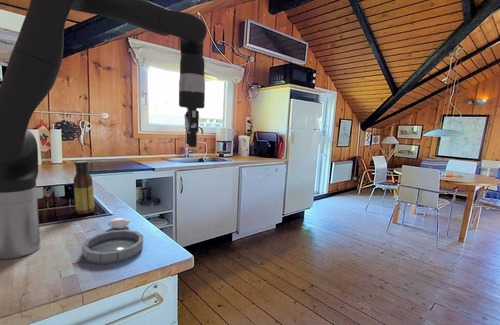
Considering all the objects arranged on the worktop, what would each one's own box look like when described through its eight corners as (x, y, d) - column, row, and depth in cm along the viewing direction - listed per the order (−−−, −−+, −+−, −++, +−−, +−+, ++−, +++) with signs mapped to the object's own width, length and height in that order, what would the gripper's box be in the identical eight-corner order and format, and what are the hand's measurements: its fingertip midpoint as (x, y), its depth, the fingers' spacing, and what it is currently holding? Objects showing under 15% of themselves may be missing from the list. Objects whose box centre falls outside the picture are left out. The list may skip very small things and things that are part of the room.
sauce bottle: (91, 208, 105) (89, 159, 102) (97, 212, 101) (95, 161, 98) (72, 211, 100) (69, 160, 97) (78, 216, 96) (75, 163, 93)
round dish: (75, 267, 63) (75, 256, 63) (91, 241, 77) (91, 232, 76) (140, 260, 68) (140, 250, 67) (144, 236, 81) (144, 228, 81)
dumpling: (110, 233, 83) (110, 221, 82) (106, 228, 87) (105, 217, 86) (133, 228, 88) (133, 217, 87) (128, 223, 91) (128, 212, 91)
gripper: (177, 92, 83) (177, 143, 85) (180, 87, 69) (179, 147, 72) (201, 94, 85) (200, 144, 87) (208, 89, 72) (206, 148, 74)
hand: (191, 145), depth 79 cm, fingers open, 8 cm apart
